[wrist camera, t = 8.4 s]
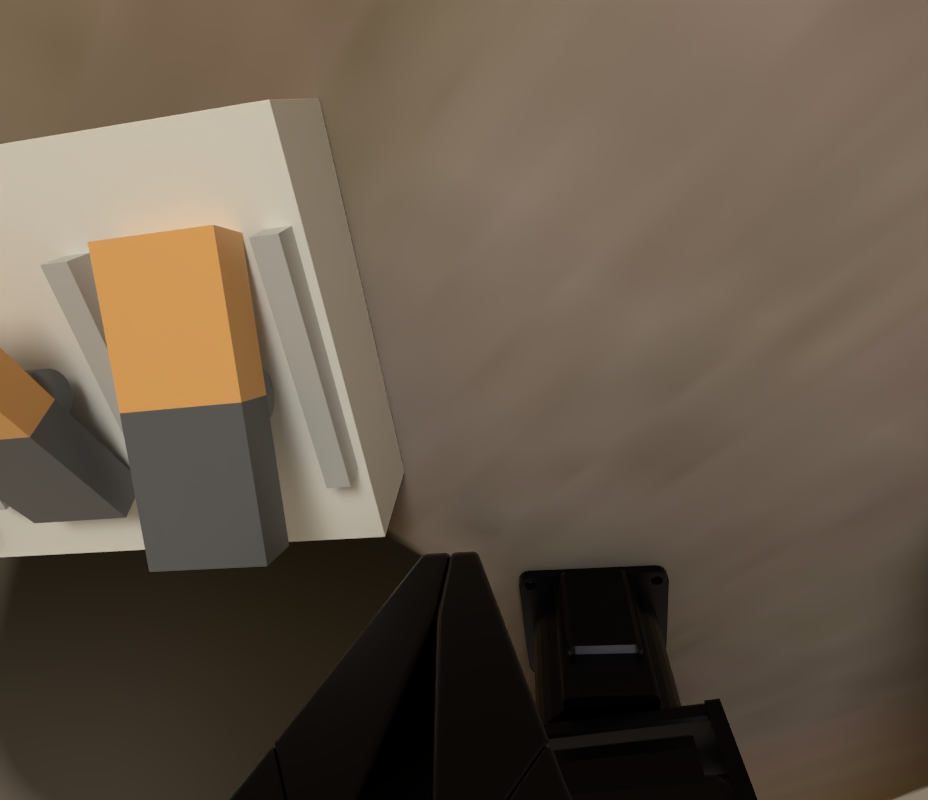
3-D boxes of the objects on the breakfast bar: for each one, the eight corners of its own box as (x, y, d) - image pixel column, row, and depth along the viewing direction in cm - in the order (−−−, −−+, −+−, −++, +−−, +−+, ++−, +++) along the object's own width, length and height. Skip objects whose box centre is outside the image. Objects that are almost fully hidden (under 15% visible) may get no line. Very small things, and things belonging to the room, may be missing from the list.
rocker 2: (302, 533, 18) (267, 566, 15) (199, 538, 18) (149, 571, 16) (259, 237, 17) (212, 224, 14) (149, 252, 17) (87, 241, 15)
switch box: (405, 477, 24) (381, 563, 20) (-9, 505, 27) (-111, 586, 22) (318, 98, 17) (252, 99, 13) (-219, 186, 20) (-423, 212, 16)
